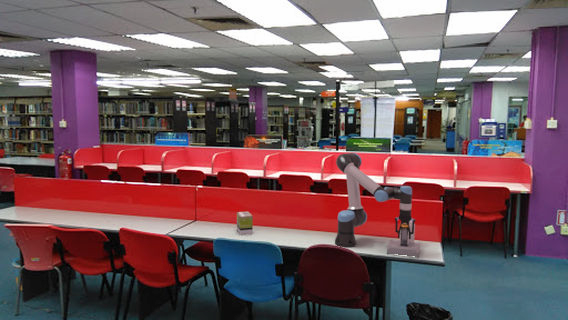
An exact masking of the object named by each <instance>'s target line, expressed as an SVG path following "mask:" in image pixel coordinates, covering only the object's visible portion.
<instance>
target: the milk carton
mask: <svg viewBox="0 0 568 320" xmlns="http://www.w3.org/2000/svg"><path fill="white" fill-rule="evenodd" d="M409 224H410V225H409V226H410V231H411V232H412V220H410V222H409ZM415 231H416V224H415V223H414V234H411V239H409V242H411V243H415V234H416V233H415ZM400 233H401V231H400ZM408 234H409V232H408Z"/></svg>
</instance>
